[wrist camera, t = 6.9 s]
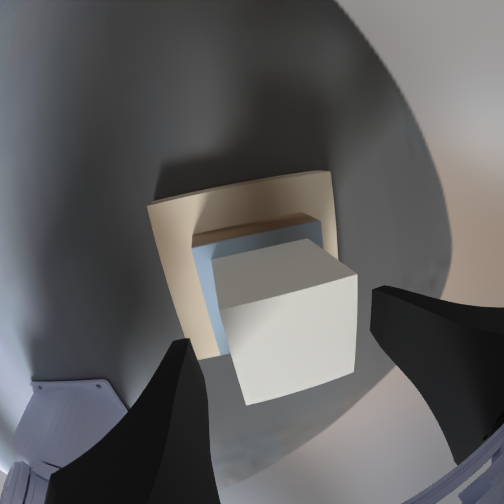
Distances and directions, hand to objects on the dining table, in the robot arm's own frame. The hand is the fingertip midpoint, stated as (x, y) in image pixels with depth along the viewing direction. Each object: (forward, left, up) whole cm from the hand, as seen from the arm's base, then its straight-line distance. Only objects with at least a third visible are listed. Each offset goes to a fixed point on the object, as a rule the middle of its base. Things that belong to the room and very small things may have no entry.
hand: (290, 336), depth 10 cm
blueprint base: (0, 0, -8) cm, 8 cm away
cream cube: (0, 0, -4) cm, 4 cm away
